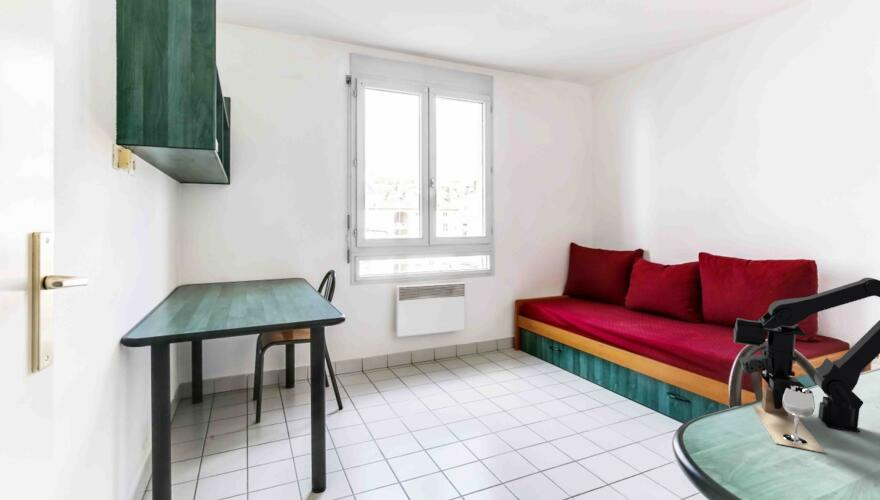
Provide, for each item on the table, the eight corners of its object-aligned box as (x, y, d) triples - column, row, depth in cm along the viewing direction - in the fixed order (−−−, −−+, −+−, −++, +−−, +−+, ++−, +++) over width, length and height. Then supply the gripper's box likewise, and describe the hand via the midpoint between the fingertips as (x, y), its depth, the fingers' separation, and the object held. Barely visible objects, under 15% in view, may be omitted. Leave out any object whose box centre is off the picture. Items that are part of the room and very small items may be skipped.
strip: (792, 412, 116) (795, 390, 115) (826, 453, 96) (828, 426, 95) (752, 405, 119) (754, 384, 119) (776, 443, 99) (778, 417, 99)
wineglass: (816, 447, 98) (822, 396, 97) (787, 444, 99) (792, 393, 98) (801, 434, 103) (805, 386, 102) (773, 431, 104) (778, 383, 103)
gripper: (736, 336, 126) (732, 388, 127) (752, 354, 109) (747, 414, 110) (783, 341, 121) (778, 395, 123) (807, 361, 104) (801, 423, 106)
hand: (775, 406), depth 115 cm, fingers closed on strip, 3 cm apart
